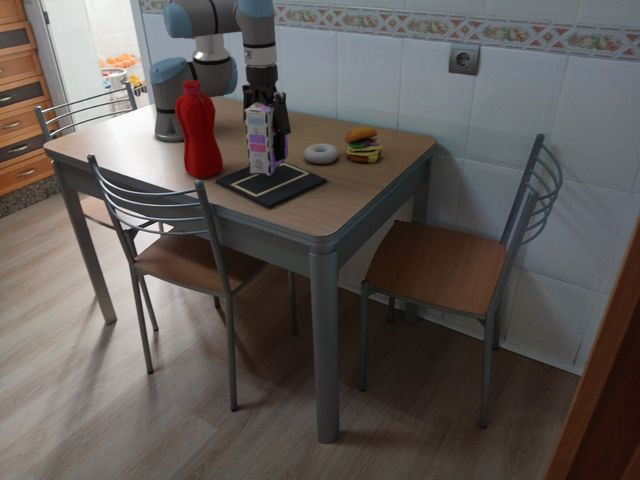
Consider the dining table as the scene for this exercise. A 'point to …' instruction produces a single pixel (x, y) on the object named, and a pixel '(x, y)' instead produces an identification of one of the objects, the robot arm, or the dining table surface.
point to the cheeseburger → (363, 145)
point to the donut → (321, 153)
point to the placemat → (271, 184)
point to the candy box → (261, 139)
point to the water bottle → (198, 131)
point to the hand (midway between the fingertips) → (268, 155)
